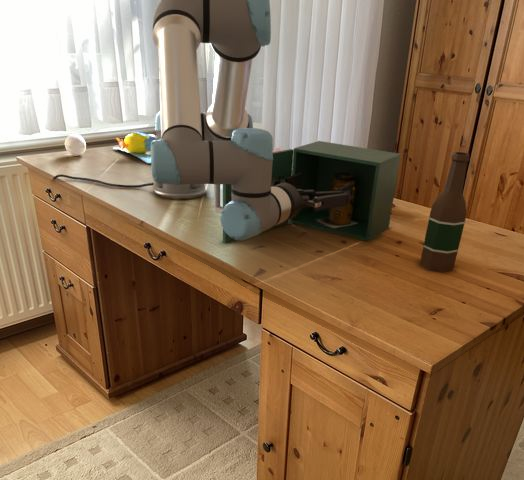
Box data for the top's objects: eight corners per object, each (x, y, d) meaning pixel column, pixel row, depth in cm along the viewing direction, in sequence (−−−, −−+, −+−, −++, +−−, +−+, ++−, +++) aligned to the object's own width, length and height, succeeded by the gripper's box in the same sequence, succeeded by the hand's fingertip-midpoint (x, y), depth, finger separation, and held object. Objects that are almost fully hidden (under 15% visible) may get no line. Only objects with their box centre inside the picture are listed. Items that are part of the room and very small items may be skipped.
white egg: (63, 154, 198) (59, 133, 194) (83, 152, 202) (80, 131, 198) (72, 160, 191) (69, 138, 187) (93, 158, 195) (90, 136, 191)
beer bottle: (413, 259, 123) (435, 148, 110) (446, 259, 124) (472, 149, 111) (425, 272, 116) (449, 157, 104) (460, 273, 117) (488, 158, 105)
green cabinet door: (207, 236, 130) (206, 157, 121) (271, 217, 144) (274, 145, 135) (225, 243, 127) (225, 162, 117) (288, 223, 141) (293, 149, 131)
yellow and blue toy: (102, 125, 202) (139, 124, 210) (104, 150, 206) (140, 147, 214) (136, 139, 183) (175, 136, 192) (138, 165, 188) (176, 161, 196)
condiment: (358, 223, 140) (364, 176, 134) (333, 229, 136) (339, 180, 130) (339, 216, 145) (344, 170, 139) (315, 221, 141) (319, 174, 135)
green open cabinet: (368, 241, 132) (379, 162, 122) (288, 222, 142) (293, 148, 132) (388, 228, 141) (400, 153, 131) (312, 210, 151) (318, 140, 142)
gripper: (228, 210, 120) (279, 190, 135) (328, 235, 109) (371, 210, 124) (228, 175, 116) (280, 159, 131) (332, 198, 105) (376, 177, 120)
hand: (325, 184), depth 127 cm, fingers open, 13 cm apart
